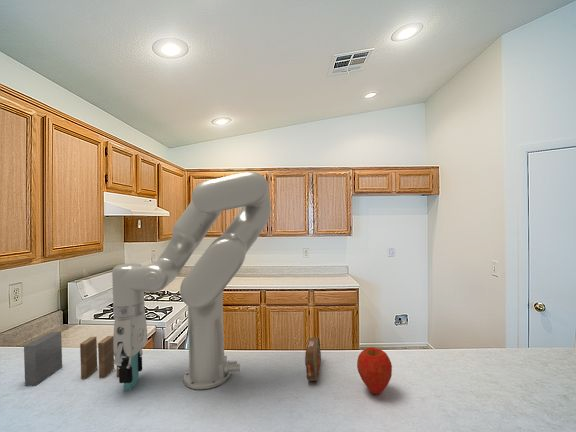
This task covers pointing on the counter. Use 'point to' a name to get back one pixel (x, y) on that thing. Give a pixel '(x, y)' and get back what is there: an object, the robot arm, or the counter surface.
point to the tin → (313, 359)
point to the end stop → (42, 358)
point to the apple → (374, 369)
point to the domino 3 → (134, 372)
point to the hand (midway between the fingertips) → (131, 375)
